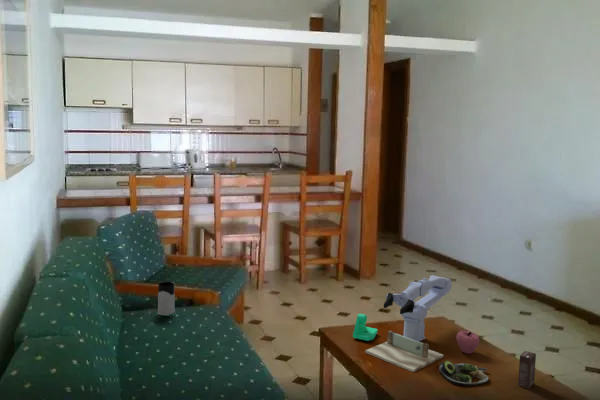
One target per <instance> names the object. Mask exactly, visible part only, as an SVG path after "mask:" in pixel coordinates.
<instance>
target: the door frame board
mask: <svg viewBox="0 0 600 400" xmlns="http://www.w3.org/2000/svg"><path fill="white" fill-rule="evenodd" d="M393 332H394V331H392V330H388V331H387V339H386V340H387V341H385V342H382V343H380V344H378V345H375V346H373V347H370V348H368V349H365V351H364V353H365V354H367V355H370V356H373V357H375V358H377V359H380V360H382V361H385V362H387V363H389V364H392V365H394V366H397V367H399V368H402V369H405V370H407V371H410V372H411V373H414V372H416V371H418V370H420V369H422V368H424V367H427V366H429V365H430V364H432V363H434V362H436V361H439V360H441V359H443V358H444V357H445V356H444V354H442V353H440V352H437V351H434V350H431V349H429V348H430V347H429V346H430V345H429V343H427V342H426V343H424V346H423V355H419V354H416V353H414V352H411V351H408V350H406V349H403V348H400V347H398V346H395V345H392V333H393Z"/></svg>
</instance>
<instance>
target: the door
mask: <svg viewBox="0 0 600 400" xmlns="http://www.w3.org/2000/svg"><path fill="white" fill-rule="evenodd" d="M424 344H425V343H424V342H421V341H416V340H413V339H410V338H407V337H405V336H404V335H401V334H399V333H395V332H394V331H393V333H392V345H395V346H398V347H400V348H403V349H406V350H408V351H411V352H414V353H416V354H419V355H423V346H424Z"/></svg>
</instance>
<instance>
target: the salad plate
mask: <svg viewBox="0 0 600 400" xmlns="http://www.w3.org/2000/svg"><path fill="white" fill-rule="evenodd" d="M438 364H439V367H438V371H439V373H440V375H441V376H442V377H443V378H444V379H445V380H446V381H447V382H449V383H451V384H453V385H456V386H461V387H463V386H464V387H467V386H469V387H470V386H475V385H480V384H481V385H482V384H484V383H486V382H488V381H489V379H490V378H489V376H488V375H486V374H485V373H484V372H487V371H488V369H487V368H485V367H480V366H479V367H478V366H477V365H473V364H471V363H463V362H462V363H453V362H451V361H450V360H444V361H443V362H439V363H438ZM473 378H477V379H479V380H478V381H477V382H472V379H473Z"/></svg>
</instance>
